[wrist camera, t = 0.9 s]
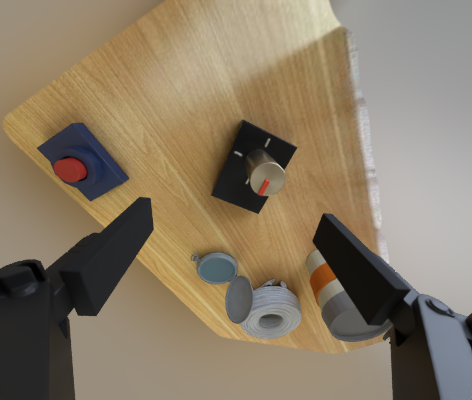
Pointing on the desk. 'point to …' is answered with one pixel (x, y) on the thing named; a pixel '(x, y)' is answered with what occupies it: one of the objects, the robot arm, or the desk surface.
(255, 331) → the cable
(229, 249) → the desk surface
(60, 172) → the red button
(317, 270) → the reusable coffee cup
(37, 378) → the robot arm
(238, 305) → the pocket watch
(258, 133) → the black dial base
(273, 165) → the lock knob
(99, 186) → the button block
